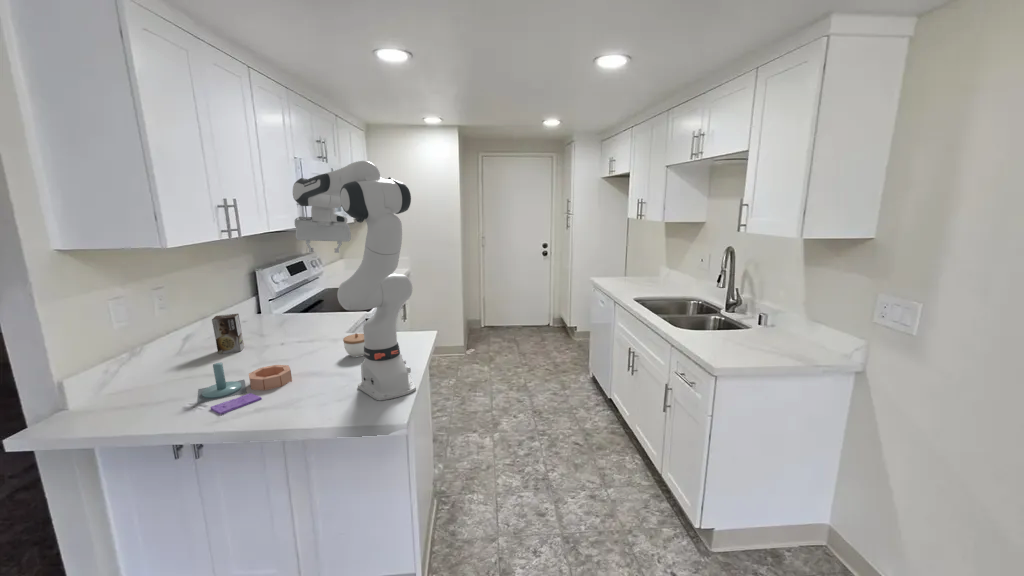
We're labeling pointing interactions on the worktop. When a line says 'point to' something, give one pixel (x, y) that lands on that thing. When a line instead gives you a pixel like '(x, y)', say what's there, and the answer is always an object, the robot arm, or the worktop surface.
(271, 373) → the bowl
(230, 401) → the sponges
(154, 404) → the worktop surface
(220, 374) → the lid
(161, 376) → the worktop surface
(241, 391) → the mat
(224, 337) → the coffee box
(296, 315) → the worktop surface
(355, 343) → the lidded jar
